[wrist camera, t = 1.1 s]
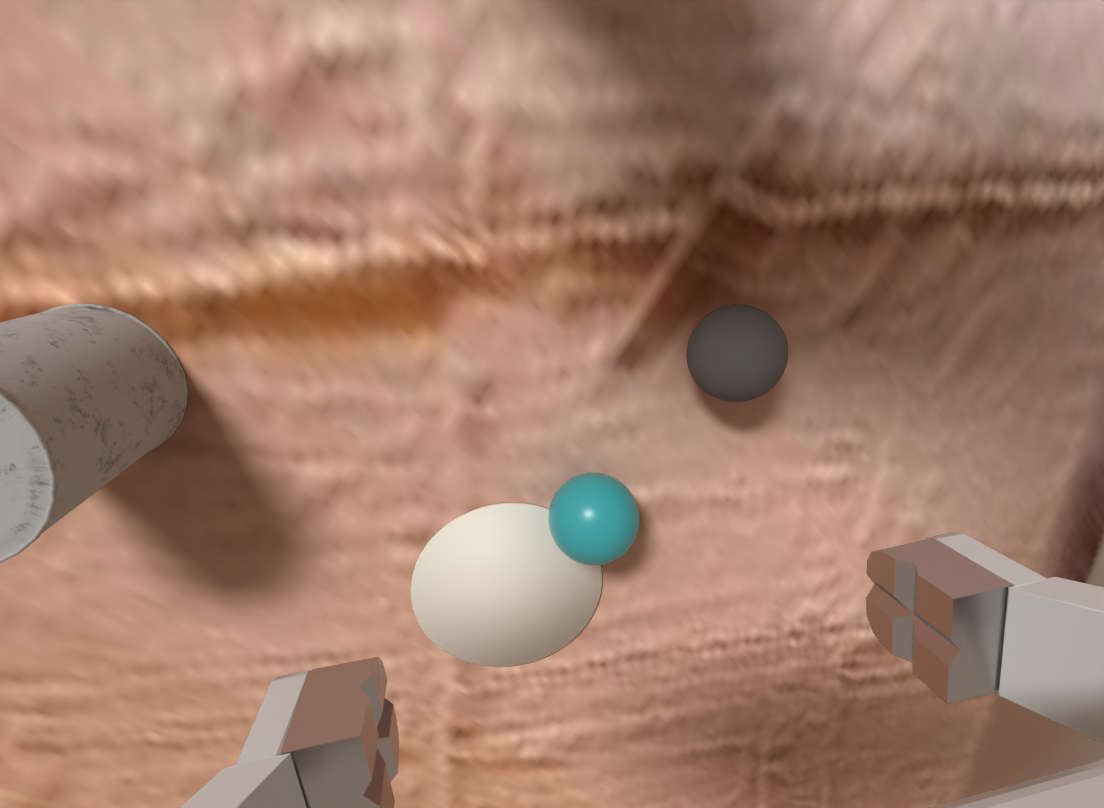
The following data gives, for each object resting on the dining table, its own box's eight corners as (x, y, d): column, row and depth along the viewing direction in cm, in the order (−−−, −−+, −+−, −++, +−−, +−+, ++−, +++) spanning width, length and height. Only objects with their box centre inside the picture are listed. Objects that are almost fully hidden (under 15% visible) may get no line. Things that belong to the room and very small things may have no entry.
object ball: (579, 442, 40) (597, 481, 35) (643, 488, 42) (670, 531, 36) (526, 507, 41) (535, 554, 36) (590, 548, 43) (608, 599, 37)
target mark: (489, 466, 40) (489, 467, 40) (639, 565, 44) (639, 566, 44) (372, 611, 42) (371, 613, 42) (524, 692, 46) (525, 694, 46)
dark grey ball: (716, 279, 38) (759, 291, 32) (777, 334, 40) (828, 355, 34) (655, 351, 39) (687, 376, 33) (717, 402, 41) (757, 433, 35)
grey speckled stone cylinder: (74, 267, 33) (-141, 300, 21) (222, 381, 36) (104, 463, 24) (-26, 385, 34) (-280, 477, 23) (125, 486, 37) (-31, 611, 26)
